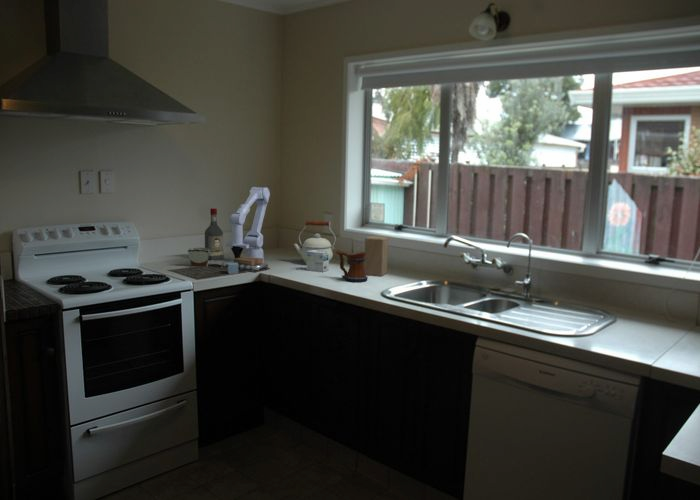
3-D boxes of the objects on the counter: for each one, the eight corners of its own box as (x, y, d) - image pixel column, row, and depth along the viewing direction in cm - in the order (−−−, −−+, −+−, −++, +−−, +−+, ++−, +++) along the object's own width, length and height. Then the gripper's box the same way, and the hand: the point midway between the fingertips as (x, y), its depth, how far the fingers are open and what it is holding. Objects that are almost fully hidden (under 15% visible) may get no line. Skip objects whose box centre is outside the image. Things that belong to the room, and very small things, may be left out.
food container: (213, 265, 329) (213, 247, 327) (209, 267, 323) (209, 249, 321) (191, 264, 330) (191, 246, 329) (187, 266, 324) (187, 248, 322)
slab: (245, 260, 329) (245, 256, 329) (262, 262, 324) (262, 258, 323) (233, 263, 321) (233, 258, 320) (251, 265, 315) (251, 261, 315)
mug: (330, 279, 300) (330, 250, 298) (342, 275, 310) (343, 247, 308) (359, 283, 291) (360, 253, 288) (371, 280, 300) (372, 251, 298)
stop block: (227, 272, 312) (228, 274, 306) (227, 262, 311) (228, 264, 306) (237, 271, 313) (238, 273, 308) (237, 262, 313) (238, 264, 307)
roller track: (235, 264, 334) (235, 259, 334) (269, 268, 323) (269, 263, 322) (220, 267, 323) (220, 262, 322) (255, 272, 311) (255, 267, 311)
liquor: (203, 258, 350) (203, 208, 345) (218, 257, 355) (217, 207, 351) (210, 261, 343) (209, 209, 338) (224, 259, 348) (224, 209, 343)
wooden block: (386, 273, 319) (388, 236, 316) (381, 276, 309) (383, 239, 306) (369, 271, 322) (370, 235, 319) (363, 275, 313) (364, 237, 310)
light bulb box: (329, 270, 323) (329, 251, 322) (323, 272, 317) (323, 252, 316) (311, 268, 328) (312, 249, 326) (306, 270, 322) (306, 250, 320)
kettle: (338, 261, 350) (339, 220, 347) (331, 267, 333) (332, 223, 329) (297, 259, 355) (298, 218, 351) (289, 264, 337) (289, 221, 333)
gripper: (222, 235, 323) (222, 259, 325) (243, 237, 316) (243, 262, 318) (230, 234, 329) (230, 258, 331) (251, 236, 322) (251, 260, 324)
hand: (237, 260), depth 325 cm, fingers closed
